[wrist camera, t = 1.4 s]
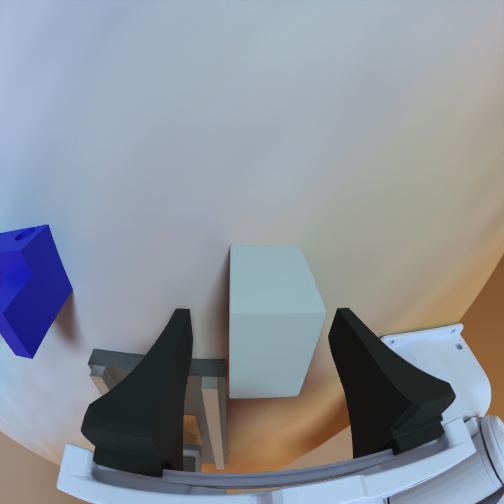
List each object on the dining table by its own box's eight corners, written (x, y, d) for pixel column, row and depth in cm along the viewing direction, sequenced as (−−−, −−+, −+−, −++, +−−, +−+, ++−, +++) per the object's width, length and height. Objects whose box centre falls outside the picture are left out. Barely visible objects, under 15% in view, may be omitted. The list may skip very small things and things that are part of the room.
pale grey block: (299, 245, 14) (326, 312, 10) (284, 332, 17) (297, 398, 13) (230, 243, 14) (229, 313, 10) (229, 332, 17) (229, 401, 13)
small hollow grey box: (198, 450, 25) (197, 488, 20) (201, 457, 26) (200, 492, 22) (168, 447, 25) (165, 484, 20) (173, 455, 26) (171, 489, 22)
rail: (225, 359, 18) (225, 389, 16) (228, 453, 29) (228, 469, 27) (93, 348, 17) (83, 374, 15) (153, 448, 28) (152, 463, 26)
